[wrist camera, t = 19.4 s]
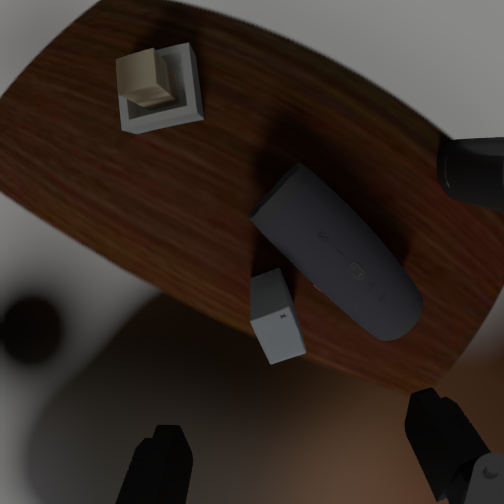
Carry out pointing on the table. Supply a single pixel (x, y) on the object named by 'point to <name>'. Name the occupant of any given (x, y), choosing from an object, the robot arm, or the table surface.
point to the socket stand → (186, 111)
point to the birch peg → (147, 80)
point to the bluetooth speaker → (338, 253)
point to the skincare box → (275, 317)
